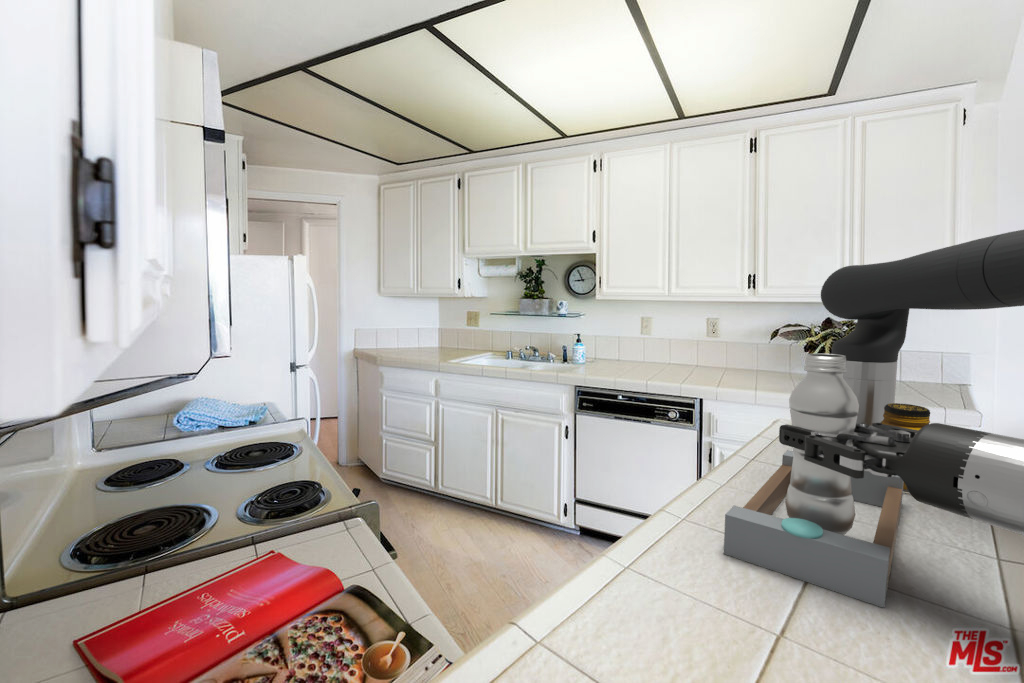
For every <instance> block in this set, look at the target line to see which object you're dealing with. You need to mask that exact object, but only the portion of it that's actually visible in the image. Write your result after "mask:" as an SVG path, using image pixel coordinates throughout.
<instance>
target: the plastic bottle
mask: <svg viewBox="0 0 1024 683" xmlns="http://www.w3.org/2000/svg"><path fill="white" fill-rule="evenodd" d="M803 366H804V367H803V370H804V371H805V372H806V376H805V377H804V378H802V380H800V382H799V383H797V385H796V386H795V387H794V388H793V390H792V391H791V393H790V396H789V399H788V402H789V413H790V414H789V415H790V421H791V425H792V426H796V427H800V428H804V429H808V430H812V431H819V432H822V433H829V434H838V433H839V432H840V431H849V432H854V430H855V425H856V421H857V415H858V411H859V403H858V400H857V397H856V396H855V394H854V392H853V391H852V389H851V388H850V387H849V385H848V384H847V383H846V382H845V380H844V379H843V373H846V368H845V366H846V356H844V355H837V354H832V353H807V354H806V356H805V365H803ZM833 442H834V441H833ZM847 446H850V447H851V446H852V440H848V441H847ZM792 451H793V464H792V472H791V479H790V484H789V487H788V490H787V494H786V496H785V502H784V503H785V508H786V515H787V517H788V518H799V519H804V520H808V521H811V522H813V523H815V524H817V525H819V526H820V527H821V528H822V529H823V530H827V531H830V532H834V533H838V534H841V535H846V534H847V533H849V531H851V529H852V528H853V526H854V522H855V518H856V507H855V506H856V505H855V501H854V500H853V496H852V494H851V492H852V491H851V477H850V476H847V475H845V474H842V473H839V472H837V471H834V470H831V469H828V468H826V467H823V466H820V465H817V464H815V463H812V462H809V461H806V460H804V454H805V451H804V450H800V449H797V448H794V447H792Z"/></svg>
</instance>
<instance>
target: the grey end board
mask: <svg viewBox="0 0 1024 683" xmlns="http://www.w3.org/2000/svg"><path fill="white" fill-rule="evenodd" d="M723 533H724V534H723V535H724V537H723V538H724V539H723V554H724V555H727V556H730V557H732V558H735V559H738V560H741V561H744V562H748V563H750V564H753V565H756V566H759V567H762V568H765V569H769V570H771V571H772V572H773V571H774V572H776V573H780V574H782V575H786V576H789V577H791V578H795V579H798V580H800V581H802V582H806V583H808V584H813V585H814V586H815V585H816V586H818V587H820V588H824V589H827V590H829V591H833V592H836V593H839V594H841V595H844V596H847V597H850V598H853V599H856V600H859V601H862V602H865V603H869V604H871V605H874V606H877V607H880V608H883V609H885V604H886V598H887V595H888V594H887V593H888V588H887V582H888V569H889V556H890V548H889V547H886V546H882V545H878V544H875V543H873V542H870V541H866V540H863V539H860V538H856V537H851V536H849V535H846V534H844V535H841V534H838V533H834V532H830V531H827V530H823V529H822V528H821V527H820V526H819V525H817V524H815V523H813V522H811V521H808V520H804V519H799V518H789V517H788V518H782V517H779V516H774V515H772V514H771V515H768V514H764V513H760V512H757V511H753V510H749V509H746V508H743V507H741V506H737V505H733V506H732V507H731V508H730V509H729V510H727V512H726V513H725V515H724V532H723ZM888 583H889V582H888Z"/></svg>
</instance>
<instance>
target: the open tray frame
mask: <svg viewBox="0 0 1024 683" xmlns="http://www.w3.org/2000/svg"><path fill="white" fill-rule="evenodd" d="M791 472H792V466H787V465H782V464H780V466H779V467H778V469H776V471H775V472H774V473H773V474H772V475H771V476H770V477H769V478H768V479H767V481H766V482H765V483H764V484H763V485H762V486H761V487H760V488H759V489H758V491H756V493H754V495H753V496H752V497H751V498H750V499H749V501H747V503H745V505H744V506H743V507H742V508H746V509H749V510H753V511H757V512H760V513H764V514H768V515H771V516H772V514H773V513H774V512H775V510H776V509H777V508H778V507H779V505H780V504H781V502H782V501H783V500H784V498H786V495H787V490H788V487H789V484H790V479H791ZM901 500H902V501H903V496H902V489H899V488H894V487H889V486H888V487H887V491H886V495H885V499H884V503H883V507H881V510H880V511H881V512H880V514H879V520H878V523H877V526H876V531H875V535H874V538H873V542H872V543H875V544H878V545H882V546H886V547H889V548H890V556H889V569H888V582H887V589H888V587H889V581H890V576H891V571H892V563H893V559H894V552H895V546H896V542H897V536H898V529H899V528H898V527H899V524H900V517H901V512H902V506H901Z"/></svg>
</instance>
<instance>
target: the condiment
mask: <svg viewBox="0 0 1024 683" xmlns="http://www.w3.org/2000/svg"><path fill="white" fill-rule="evenodd" d="M930 411H931V410H930V409H929V408H927V407H925V406H921V405H915V404H911V403H910V404H909V403H899V402H898V403H897V402H896V403H890V404H887V405H885V407H884V414H883V417H884V420H883V421H882V422H881V423H882V424H886V425H891V426H897V427H902V428H908V429H913V430H920V429H921V428H922V427H924V426H926V425H928V424H931V421H930V417H931V416H930V415H931V412H930ZM903 493H904V494H910V493H909V492H908V490H907V487H906V485H905V483H903Z"/></svg>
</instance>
